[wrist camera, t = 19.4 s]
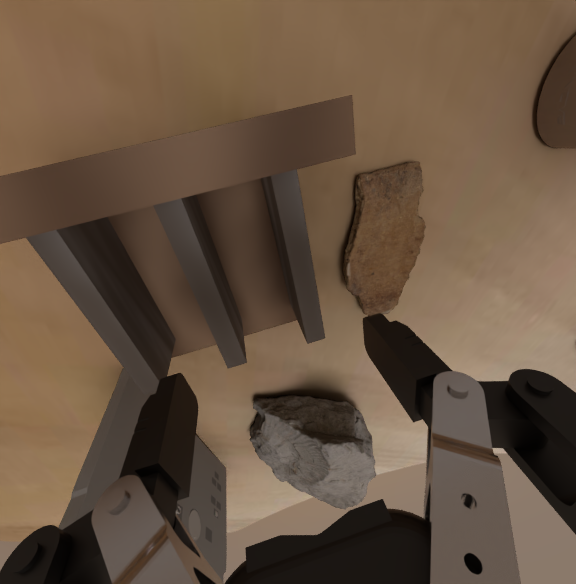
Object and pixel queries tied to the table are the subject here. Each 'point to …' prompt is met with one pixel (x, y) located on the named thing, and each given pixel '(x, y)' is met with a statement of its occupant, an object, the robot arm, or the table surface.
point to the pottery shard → (384, 236)
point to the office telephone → (109, 461)
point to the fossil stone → (315, 446)
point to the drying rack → (184, 234)
